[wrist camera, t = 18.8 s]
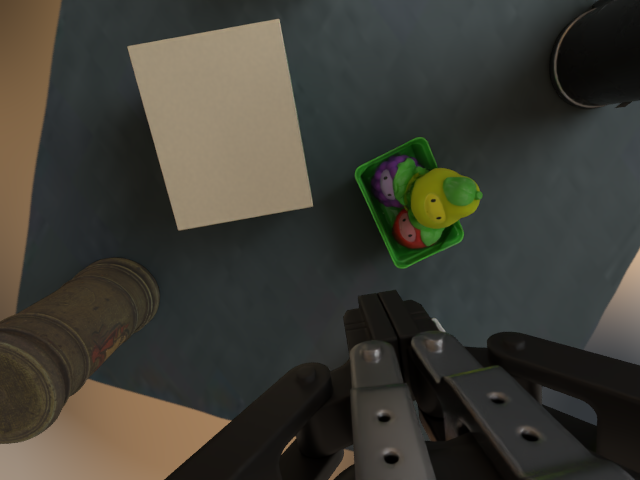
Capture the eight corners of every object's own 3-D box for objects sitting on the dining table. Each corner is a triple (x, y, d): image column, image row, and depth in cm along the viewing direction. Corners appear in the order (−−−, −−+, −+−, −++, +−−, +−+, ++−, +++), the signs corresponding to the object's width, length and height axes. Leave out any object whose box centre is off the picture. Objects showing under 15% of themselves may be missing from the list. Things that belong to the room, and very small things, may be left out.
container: (63, 283, 42) (-111, 381, 24) (125, 240, 41) (-9, 310, 23) (117, 342, 44) (-8, 471, 26) (177, 302, 43) (88, 409, 25)
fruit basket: (345, 167, 40) (360, 174, 29) (420, 130, 39) (465, 123, 28) (386, 257, 42) (415, 295, 31) (457, 224, 42) (512, 250, 31)
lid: (131, 48, 28) (126, 46, 27) (279, 21, 28) (279, 18, 27) (181, 229, 32) (177, 231, 31) (312, 205, 32) (313, 206, 31)
